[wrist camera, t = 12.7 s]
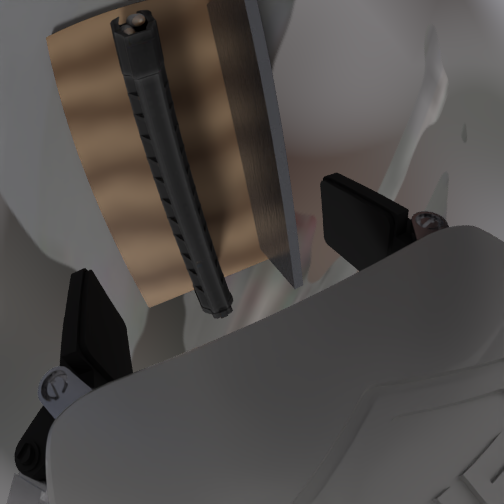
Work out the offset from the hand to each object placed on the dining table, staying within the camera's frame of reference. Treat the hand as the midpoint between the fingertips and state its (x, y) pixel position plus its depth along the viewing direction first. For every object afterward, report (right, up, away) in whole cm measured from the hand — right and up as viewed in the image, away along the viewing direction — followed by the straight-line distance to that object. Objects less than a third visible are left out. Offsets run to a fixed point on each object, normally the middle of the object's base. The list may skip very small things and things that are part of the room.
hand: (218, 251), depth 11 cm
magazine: (-8, +9, +17) cm, 21 cm away
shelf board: (-7, +10, +19) cm, 23 cm away
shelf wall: (0, +13, +19) cm, 23 cm away
